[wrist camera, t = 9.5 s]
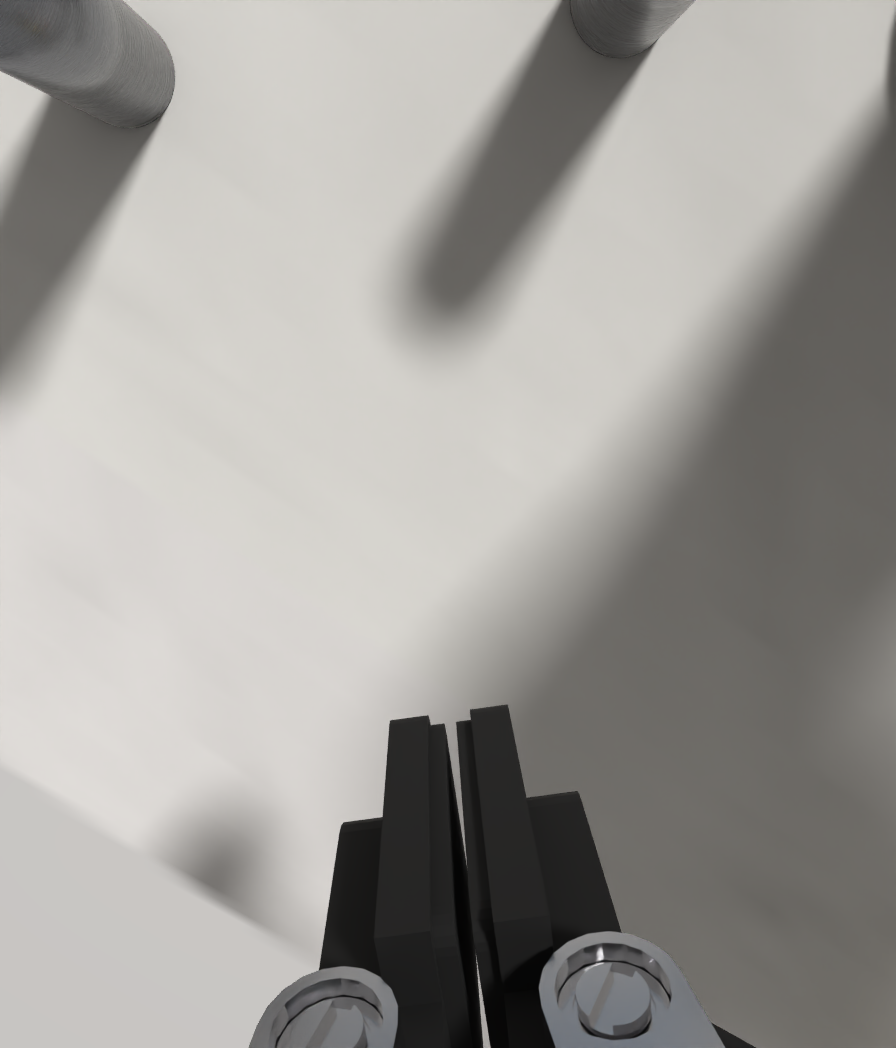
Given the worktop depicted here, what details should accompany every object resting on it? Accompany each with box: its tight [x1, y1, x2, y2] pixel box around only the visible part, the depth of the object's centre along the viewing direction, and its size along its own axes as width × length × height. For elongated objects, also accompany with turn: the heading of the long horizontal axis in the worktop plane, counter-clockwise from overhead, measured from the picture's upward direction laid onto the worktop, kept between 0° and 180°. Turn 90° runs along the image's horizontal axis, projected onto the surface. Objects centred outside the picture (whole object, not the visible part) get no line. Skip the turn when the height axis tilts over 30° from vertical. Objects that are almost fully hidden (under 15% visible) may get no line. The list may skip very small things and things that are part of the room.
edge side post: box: [0, 0, 175, 128], centre depth 16 cm, size 3×3×9 cm
